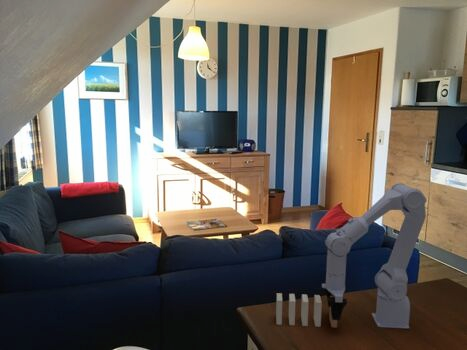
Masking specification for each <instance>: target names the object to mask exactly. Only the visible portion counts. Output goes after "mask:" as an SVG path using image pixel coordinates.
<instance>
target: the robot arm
mask: <svg viewBox="0 0 467 350" xmlns="http://www.w3.org/2000/svg"><path fill="white" fill-rule="evenodd" d="M426 202H427V198H426V196H425V195H424V193H423V192H422V191H421V190H420V189H418V188H414V187H411V186H409V185H406V184H404V183H403V182H398V183H395V184H393V185H392V187H391V188H389V189H387V190H386V191H385V192H384V195H382V196H381V198H379V200H377V201H376V202H375V203H374V204H373V205H372V206H371V207H370V208H369V209H368V210H366V211H365V212H364V213H363V214H362V215H361V216H354V217H353V218H352V217H350V218H349V219H348V220H347V223H345V224H344V225H343V226H342V227H340V228H338V229H336V230H335V231H334V232H331V233H330V234H328V235H327V237H326V239H325V240H324V244H325V246H326V248H327V254H326V255H327V256H326V273H325V274H326V275H325V283H321V288H322V289H324V290H325V294H326V299H327V300H326V302H327V306H328V308H330V307H331V316H332V320H337V321H340V319H341V316H342V313H343V311H344V308H345V307H346V305H347V304H348V299H347V298H343V297H344V294H345V291H346V271H347V269H346V268H347V254H349V252H350V250H351V248H352V246H353V245H354V243H356V242H357V241H358V240H359V239H360V238H362V237H363V236H365V235H366V234H367V233H368V232H369V227H370V225H372V224H373V223H374V222H376V221H377V220H379V219H380V218H381V217H383V216H384V215H385V214H387V213H388V212H390V211H401V213H403V215H404V219H403V221H402V223H401V226H400V229H399V232H398V234H397V236H396V240H395V242H394V246H393V248H392V251H391V253H390V256H389V259H388V261H387V263H384V264H383V265H382V266H381V268H380V270H379V271H378V272H377V273H376V274H375V276H374V283H375V285H376V287H377V292H376V294H377V295H376V296H377V297H376V310H375V312H372V313H371V315H372V318H373V320H374V322H375V324H376V325H377V328H388V329H389V328H391V329H410V326H409V325H410V316H411V315H410V313H411V304H410V303H411V302H410V299H409V297H408V296H407V292H408V288H407V287H408V286H407V285H408V282H409V279H408V274H407V268H408V266H409V263H410V260H411V257H412V255H413V252H414V249H415V246H416V244H417V241H418V239H419V236H420V234H421V231H422V228H423V225H424V223H425V220H426V216H427V214H426V206H425V205H426ZM330 296H334V297H330Z"/></svg>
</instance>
